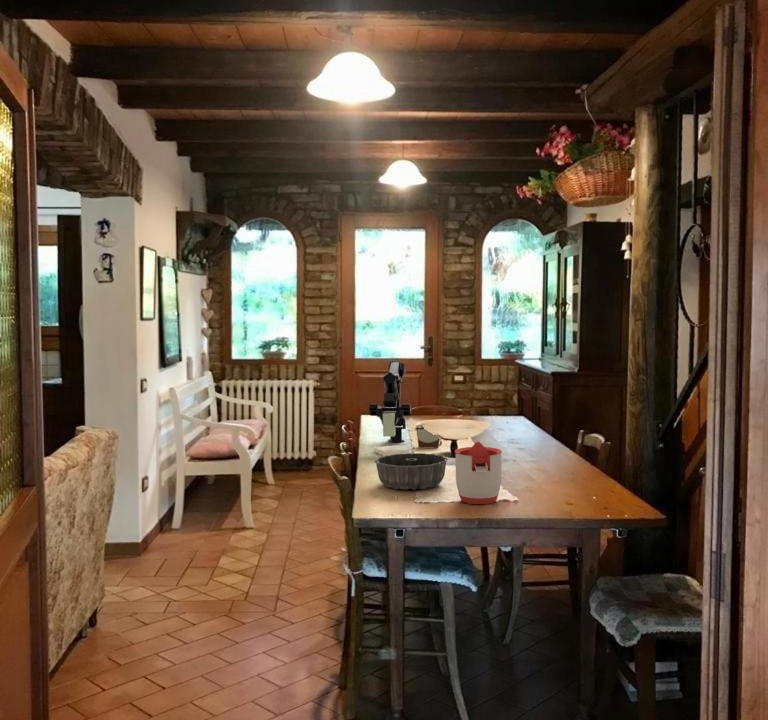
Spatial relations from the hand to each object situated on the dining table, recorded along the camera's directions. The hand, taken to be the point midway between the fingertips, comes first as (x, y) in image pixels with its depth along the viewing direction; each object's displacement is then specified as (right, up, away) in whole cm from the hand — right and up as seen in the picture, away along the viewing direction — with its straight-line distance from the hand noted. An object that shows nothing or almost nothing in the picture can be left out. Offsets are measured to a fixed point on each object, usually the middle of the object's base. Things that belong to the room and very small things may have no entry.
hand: (388, 424), depth 348 cm
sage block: (0, -5, +2) cm, 5 cm away
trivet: (+1, -13, +3) cm, 13 cm away
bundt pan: (+8, -17, -63) cm, 66 cm away
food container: (+19, -12, +17) cm, 28 cm away
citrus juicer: (+29, -18, -88) cm, 95 cm away
